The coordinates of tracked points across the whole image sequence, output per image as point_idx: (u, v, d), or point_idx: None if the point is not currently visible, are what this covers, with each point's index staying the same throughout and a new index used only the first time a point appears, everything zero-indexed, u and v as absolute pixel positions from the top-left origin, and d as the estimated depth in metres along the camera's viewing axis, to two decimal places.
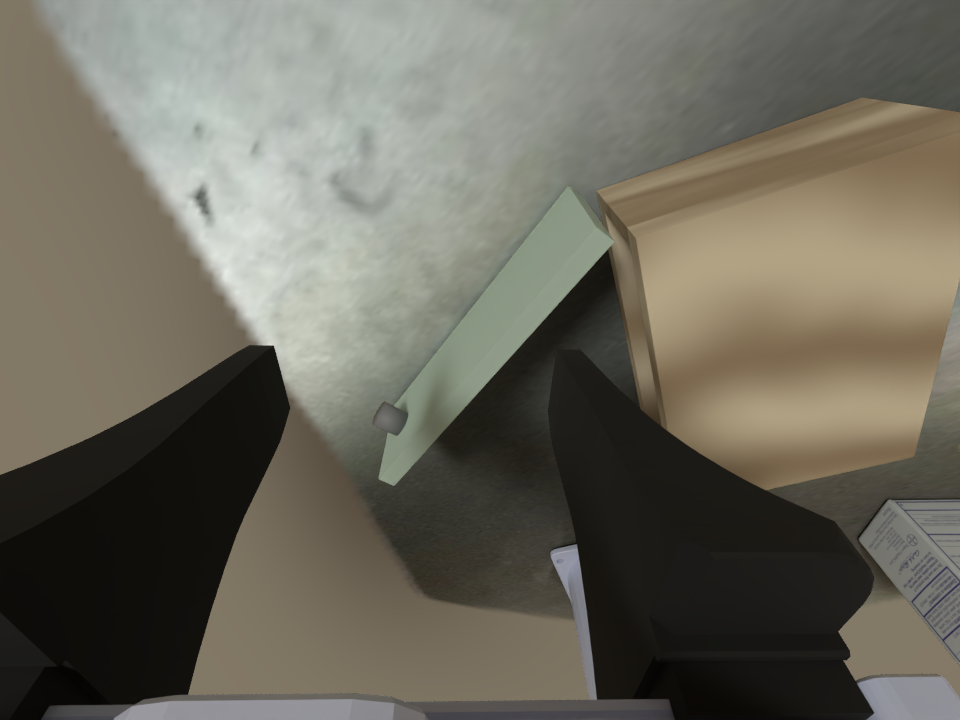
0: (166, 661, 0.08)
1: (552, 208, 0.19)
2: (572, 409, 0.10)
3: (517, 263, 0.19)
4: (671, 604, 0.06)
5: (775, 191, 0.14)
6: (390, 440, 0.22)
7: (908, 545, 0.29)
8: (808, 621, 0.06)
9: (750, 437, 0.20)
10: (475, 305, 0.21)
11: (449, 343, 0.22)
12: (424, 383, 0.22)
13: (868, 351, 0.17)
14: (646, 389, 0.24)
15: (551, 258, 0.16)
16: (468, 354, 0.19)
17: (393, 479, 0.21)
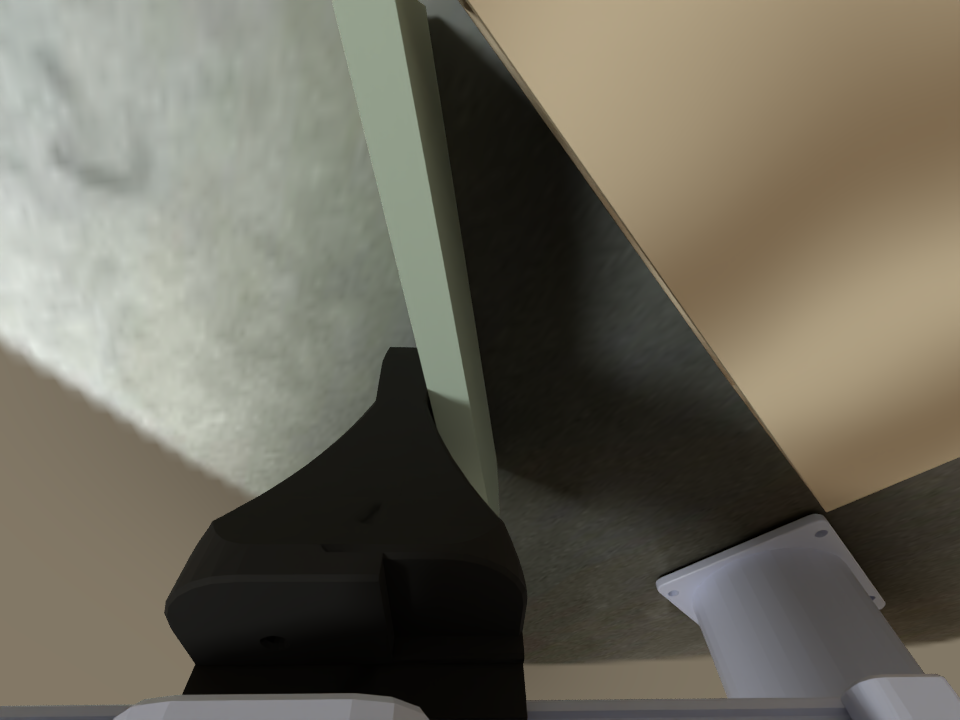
0: None
1: None
2: None
3: None
4: None
5: None
6: None
7: None
8: (479, 623, 0.06)
9: (936, 342, 0.09)
10: None
11: None
12: None
13: None
14: None
15: None
16: None
17: None
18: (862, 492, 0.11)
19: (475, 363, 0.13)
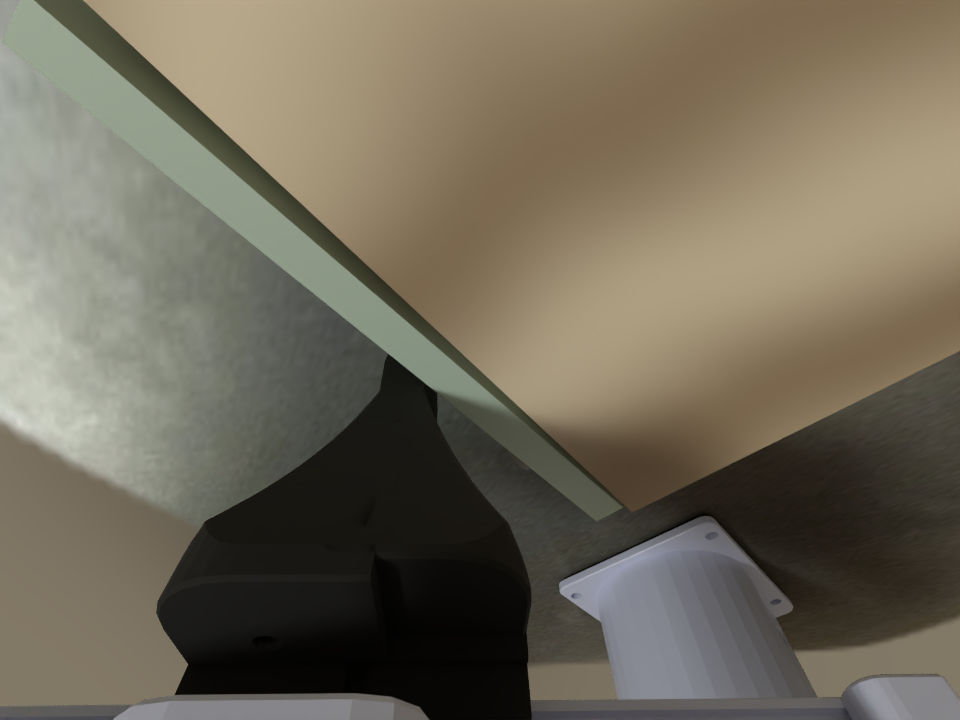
0: None
1: None
2: None
3: None
4: None
5: None
6: None
7: None
8: (482, 623, 0.06)
9: (678, 342, 0.09)
10: None
11: None
12: None
13: (863, 5, 0.06)
14: None
15: None
16: None
17: (607, 504, 0.12)
18: (660, 492, 0.11)
19: None
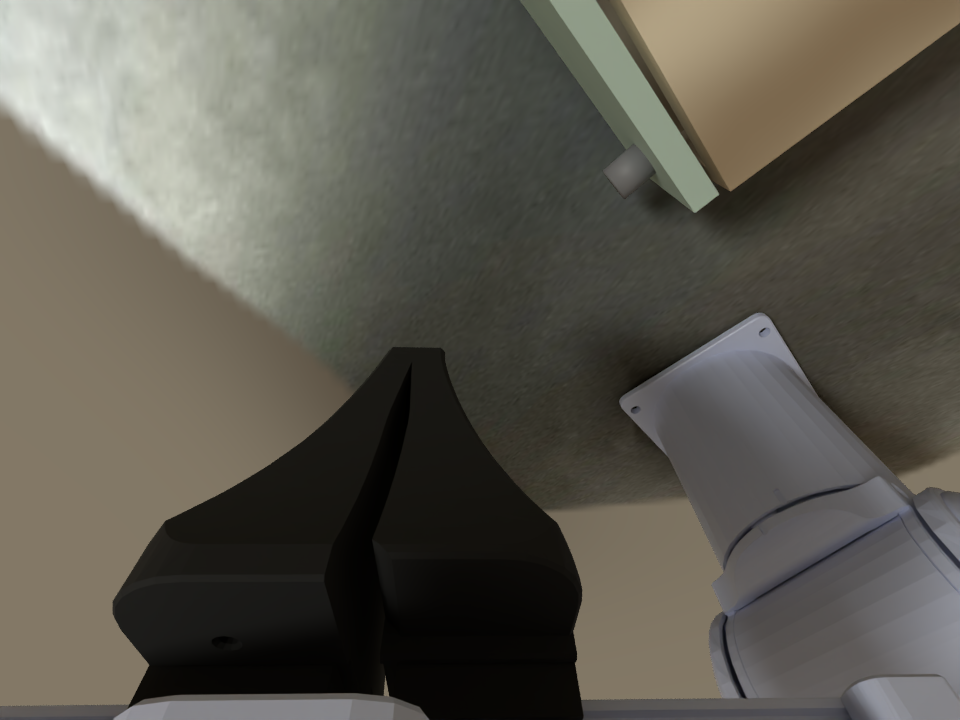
0: (378, 660, 0.08)
1: None
2: None
3: None
4: (390, 605, 0.06)
5: None
6: (662, 183, 0.15)
7: None
8: (532, 622, 0.06)
9: None
10: None
11: (559, 51, 0.15)
12: (602, 107, 0.15)
13: None
14: None
15: None
16: (540, 1, 0.12)
17: (706, 190, 0.14)
18: (757, 163, 0.13)
19: None
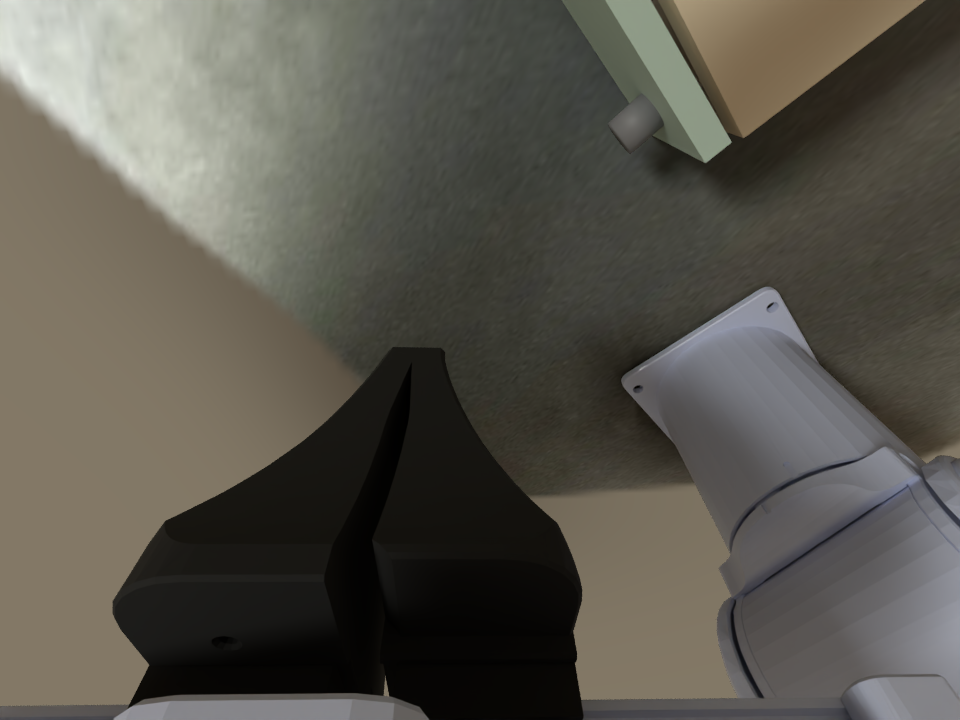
0: (378, 660, 0.08)
1: None
2: None
3: None
4: (390, 605, 0.06)
5: None
6: (671, 136, 0.15)
7: None
8: (532, 622, 0.06)
9: None
10: None
11: None
12: (608, 56, 0.15)
13: None
14: None
15: None
16: None
17: (718, 137, 0.13)
18: (773, 107, 0.12)
19: None
